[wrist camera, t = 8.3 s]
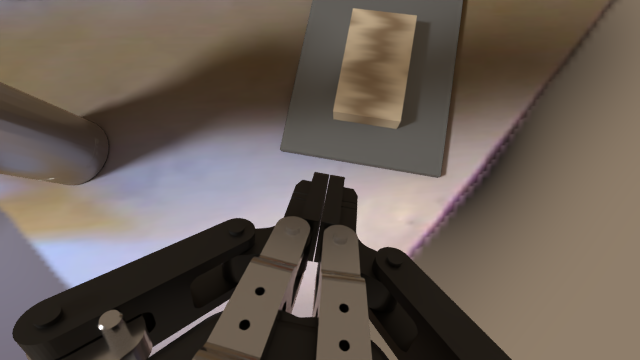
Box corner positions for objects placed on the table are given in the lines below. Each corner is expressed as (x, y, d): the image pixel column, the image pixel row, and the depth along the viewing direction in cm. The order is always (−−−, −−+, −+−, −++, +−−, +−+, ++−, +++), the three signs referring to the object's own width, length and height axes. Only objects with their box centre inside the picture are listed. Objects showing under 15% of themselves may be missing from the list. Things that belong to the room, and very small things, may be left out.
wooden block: (332, 111, 34) (353, 8, 36) (333, 119, 37) (352, 22, 39) (400, 121, 33) (417, 15, 35) (396, 129, 36) (412, 29, 38)
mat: (281, 151, 37) (279, 149, 36) (319, -21, 41) (318, -27, 40) (437, 177, 35) (440, 176, 34) (461, -6, 39) (464, -12, 38)
